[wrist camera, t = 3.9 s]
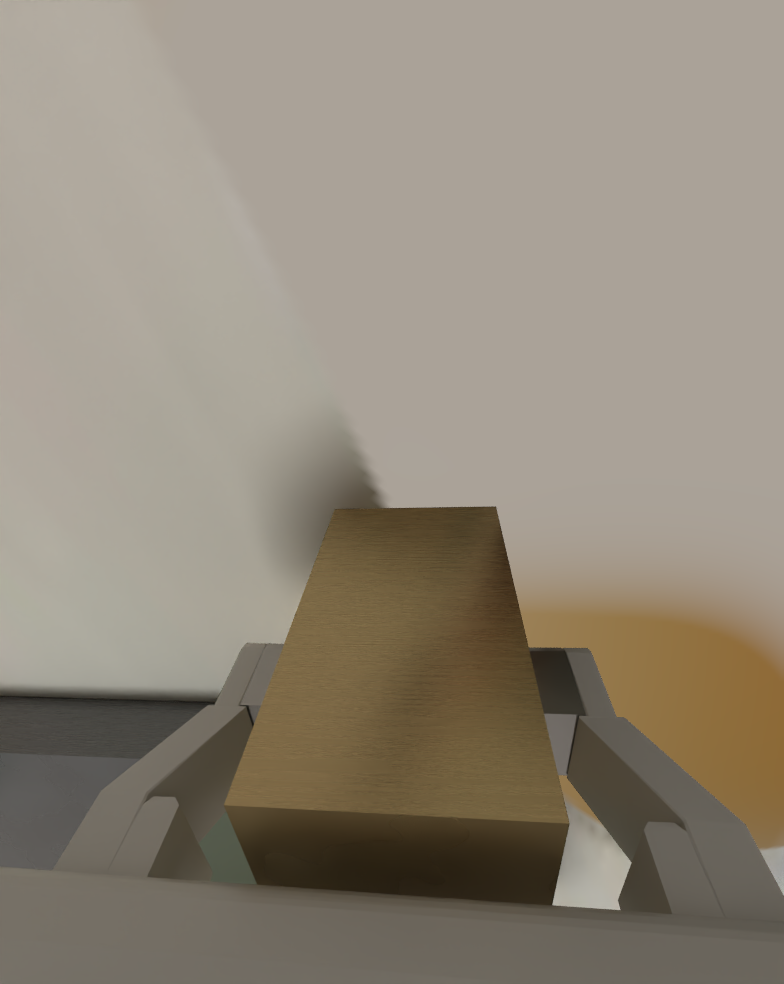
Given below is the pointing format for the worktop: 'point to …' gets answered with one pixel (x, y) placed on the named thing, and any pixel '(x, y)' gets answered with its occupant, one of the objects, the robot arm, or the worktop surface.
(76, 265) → the worktop surface
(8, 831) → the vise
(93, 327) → the worktop surface
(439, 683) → the brass block
